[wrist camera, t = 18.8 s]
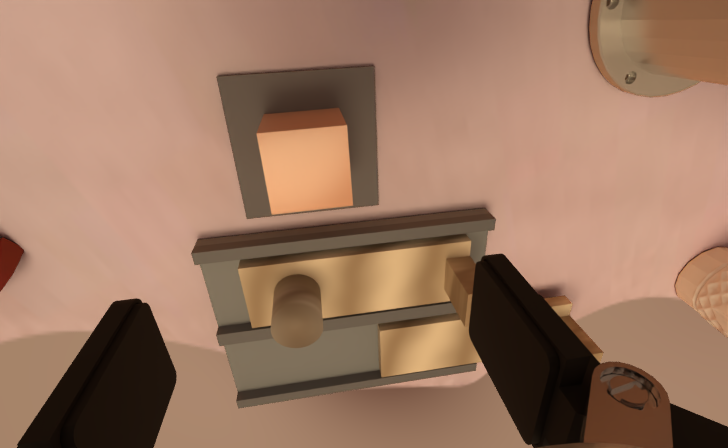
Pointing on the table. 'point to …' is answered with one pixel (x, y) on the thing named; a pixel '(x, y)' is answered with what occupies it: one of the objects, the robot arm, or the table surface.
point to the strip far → (446, 341)
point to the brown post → (297, 311)
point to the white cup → (707, 287)
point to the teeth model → (8, 260)
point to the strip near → (369, 277)
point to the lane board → (340, 334)
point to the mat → (301, 93)
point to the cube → (305, 160)
